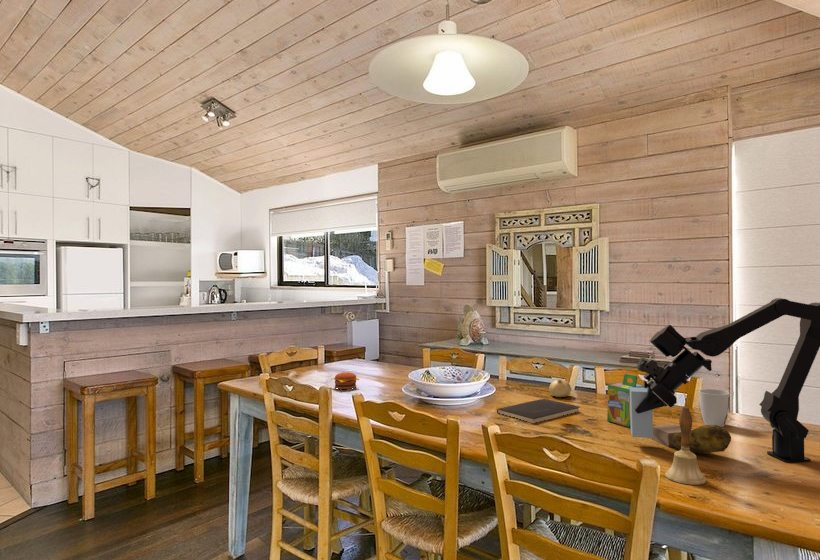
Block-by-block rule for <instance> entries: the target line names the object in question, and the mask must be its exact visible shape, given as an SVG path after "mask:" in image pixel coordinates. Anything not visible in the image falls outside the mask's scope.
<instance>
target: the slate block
mask: <svg viewBox="0 0 820 560" xmlns="http://www.w3.org/2000/svg"><path fill="white" fill-rule="evenodd" d="M646 396H647V388H630V423H631V428H630V433H631V436H632V438H643V439H644V438H645V439H652V438H653V426H654V420H653V419H654V417H653V416H654V415H653V412H654V411H653V409H652V410H649V411H646V412H642V413H639V414H638V413H637V412H636V411H635V410H636V408H637V407H638V406H639V404H640V403H641V402H642V401H643V399H644V398H645V397H646Z"/></svg>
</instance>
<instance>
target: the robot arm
mask: <svg viewBox="0 0 820 560" xmlns="http://www.w3.org/2000/svg"><path fill="white" fill-rule="evenodd" d="M784 316H790V317H794V318H799V319H800V320H799V337H798V339H797V341H796V343H795V346H794V348H793V351H792V353H791V355H790V357H789V360H788V362H787V365H786V367H785V370H784V372H783V375H782V376H781V379H780V381H779V384H778V386H777V388H775V390H773V391H772V392H770V391H768V390H765V392H764V394H763V399H762V400H761V402H760V403H759V406H760V407H761V408H760V413H761V416H762V417H763V418H764V419H765V420H766V421H767V422H768V423H769V424H770V426H771V428H772V435H771V438H772V439H771V442H772V443H771V446H772V447H771V448H772V450H769V451H766V454H768V455H770V456H772V457H774V458H776V459H778V460H780V461H783V462H786V463H795V462H797V463H798V462H800V463H801V462H811V461H812V460H811V458H810V457H808V456H806V455H805V439H806V438H807V436H808V433H809V429H808V428H807V427H806V426H804V425H803V423H801V422H800V421H799V419H798V417H799V412H800V399H799V398H800V394H801V391H802V389H803V387H804V384H805V383H806V380H807V378H808V377H809V376H808V375H809V374H810V371H811V369H812V366H813V363H814V361H815V359H816V357H817V355H818V351H819V350H820V302H811V303H808V304H807V303H804V302H803V303H802V302H797V301H792V300H789V299H787V298H782V297H781V298H780V297H776V298H774V299H772V300H771V301H770V302H768V303H766V304H764V305H762V306H760V307H759V308H756V309H755V310H752V311H751V312H749V313H747V314H746V315H743V316H741V317H740V318H738V319H736V320H734V321H731V322H730V323H728V324H725V325H722V326H718V327H714V328H711V329H707V330H705V331H702V332H700V333H699V334H697V335H696V336H691V337H690V336H688V337H684V336H682V334H680V333H679V331H677V330H676V329H675V328H674V326H673V325H671V324H668V325H666V326H665V327H663V328H662V329H660V331H657V332H656V333H655V334H654V335H653V336H652V337H651V338H650V339H649V343H651V345H653V346H654V347H655V348H656V349H657V350H658V351H660V353H661V354H662V355H664V356H665V357H666V358H667V357H670V356H671V357H672V358H673V359H672V361H670V362H666V363H664V364H662V365H661V364H658V361H657V360H654V359H652V358H650V359H648V358H646V357H644V356H643V357H642V356H641V357H640V359H639V361H638V363H637V365H636V369H637V370H638V371H640V372H642V373H645V374H644V375H643V378H644V379H643V386H644V388H647V396H646V397H645V398H644V399H643V401H642V402H641V403H640V404H639V406H638V407H637V408H636V410H635V411H636V412H637V413H638V414H639V413H642V412H646V411H649V410H652V411H653V410H656V409H659V408H663V407H667V406H668V407H669V408H673V407H674V406H675V404H677V400H678V399H677V396H676V395H675V394H676V392H675V391H677V389H679V388H680V387H681V386H682V385H687V384H688V380H689V379H690V378H691V377H693V376H694V375H695V374H696V373H697V372H698V371H699V370H700V369H701V368H702V367H704V369H706V370H707V371H708V372H711V371H712V360H711V359H710V358H705V357H703V356H702V354H704V355H705V356H707V357H717V356H719V355H720V356H721V354H723V353H724V352H725V351H726V350H727V349H729V348H730V347H731V346H732V345H733V344H734V343H735V342H737V341H738V340H739V339H740V338H742V337H745V336H747V335H749V334H750V333H752V332H754V331H756V330H759V329H760V328H762V327H764V326H767V324H769V323H772V322H774V321H775V320H778V319H779V318H781V317H784ZM686 346H688V347H689V348H691V349H692V350H697V351H693V352H691V350H689V348H687V347H686ZM698 351H699V352H700V353H702V354H700V353H699V352H698ZM674 357H675V358H674Z"/></svg>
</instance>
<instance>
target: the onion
mask: <svg viewBox="0 0 820 560" xmlns="http://www.w3.org/2000/svg"><path fill="white" fill-rule="evenodd" d="M548 390H549V393H550V395H551V396H553V397H554V396H555V397H556V398H566V397H568V396H570V394H571V391H572V386H571V384H570V383H569V382H568V381H566V380H564V379H559V378H556V379H555V380H554V381H553V380H552V381H551V383H550V384H549V389H548Z"/></svg>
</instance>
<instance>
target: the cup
mask: <svg viewBox="0 0 820 560" xmlns="http://www.w3.org/2000/svg"><path fill="white" fill-rule="evenodd" d="M698 397H699V407H700V411H701V412H700V413H701V417H702V419H703V422H704V425H705V424H706V425H717V426H720V427H721V428H724V427H725V425H726V422H727V420H728V414H729V408H730V397H731V395H730V392H729V391H726V390H722V389H714V388H713V389H712V388H702V389H699V390H698Z"/></svg>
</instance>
